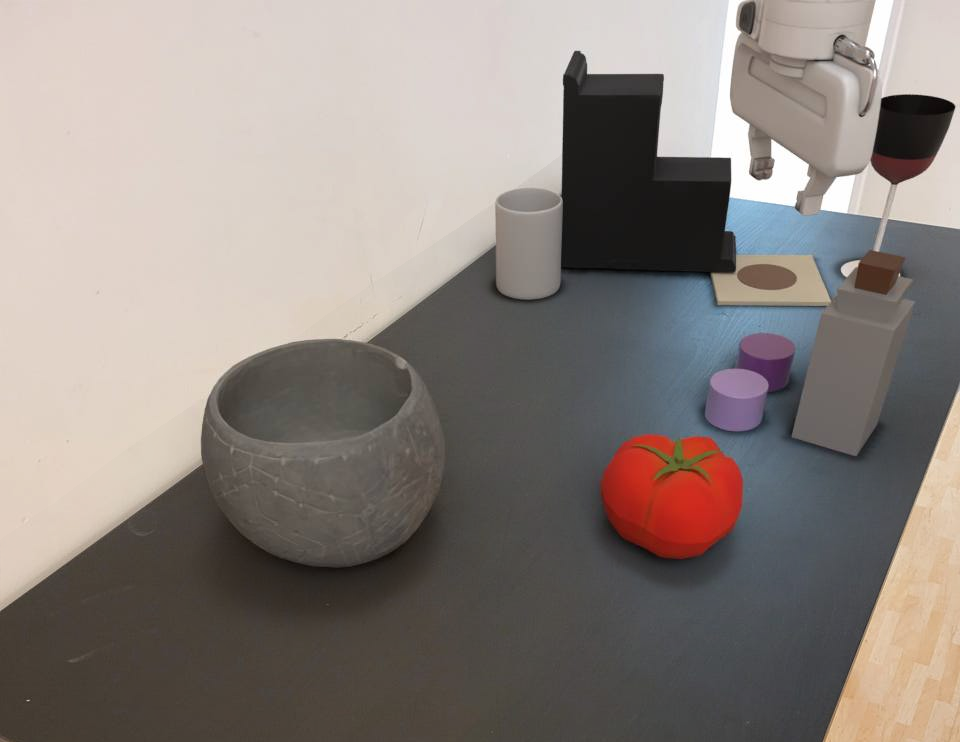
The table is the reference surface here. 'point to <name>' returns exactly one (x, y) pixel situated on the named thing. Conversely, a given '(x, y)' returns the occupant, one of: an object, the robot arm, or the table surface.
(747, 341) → the squat plum drum
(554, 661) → the table surface
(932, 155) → the wineglass
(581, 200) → the bookend
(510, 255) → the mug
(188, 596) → the table surface
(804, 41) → the robot arm
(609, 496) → the tomato
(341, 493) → the bowl
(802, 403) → the perfume bottle
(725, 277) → the placemat
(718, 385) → the lilac cylinder
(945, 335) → the table surface
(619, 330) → the table surface
